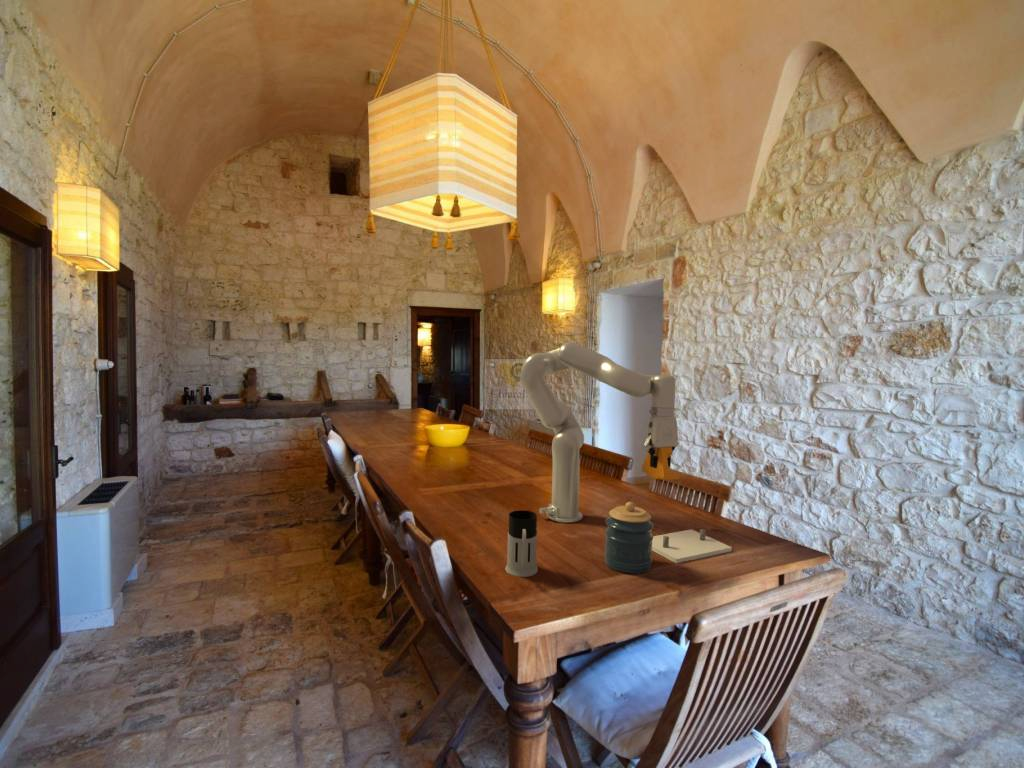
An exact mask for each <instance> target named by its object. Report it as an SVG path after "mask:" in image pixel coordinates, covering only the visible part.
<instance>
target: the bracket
mask: <svg viewBox="0 0 1024 768" xmlns="http://www.w3.org/2000/svg"><path fill="white" fill-rule="evenodd" d="M654 450H655V448H654ZM671 454H672V447H663V448H659V450H658V454H657V456H658V463H657V468H654V467H651V466H650V455H649V452H648V451H647V454H646V456H645V459H644V461H643V463H642V465H641V466H642V467H641V472H644V473H646V475H645V476H647V477H649V478H653V479H656V480H663V481H664V480H666V481H667V480H668V481H675V480H680V474H681V473H680V472H677V471H674V470H670V469H669V468H670V467H668V459H667V458H669V457H670V456H671V457H672V455H673V454H672V455H671Z"/></svg>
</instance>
